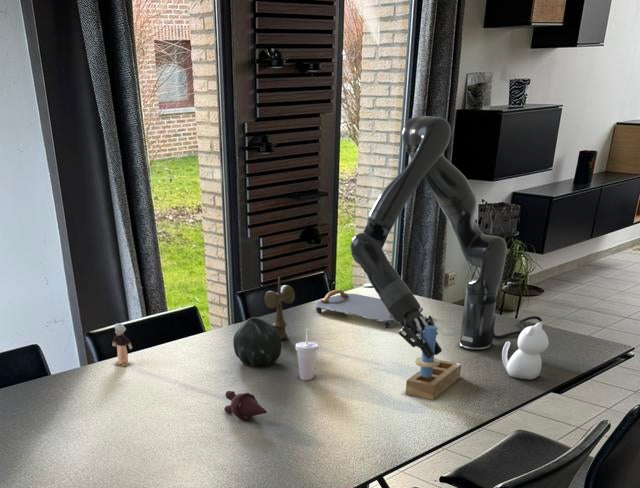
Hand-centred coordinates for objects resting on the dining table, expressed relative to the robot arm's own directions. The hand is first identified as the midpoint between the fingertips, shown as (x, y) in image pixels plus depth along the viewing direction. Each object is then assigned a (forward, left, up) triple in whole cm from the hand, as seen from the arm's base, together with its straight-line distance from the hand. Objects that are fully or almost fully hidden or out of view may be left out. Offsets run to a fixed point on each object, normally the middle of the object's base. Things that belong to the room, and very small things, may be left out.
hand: (435, 354), depth 191 cm
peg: (0, -2, -6) cm, 6 cm away
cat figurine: (-29, +7, -11) cm, 32 cm away
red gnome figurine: (+48, -20, -11) cm, 53 cm away
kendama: (-1, -66, -11) cm, 67 cm away
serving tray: (-43, -67, -11) cm, 80 cm away
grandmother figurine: (+51, -78, -11) cm, 93 cm away
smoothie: (+17, -32, -11) cm, 38 cm away
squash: (+19, -52, -11) cm, 56 cm away
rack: (-5, -4, -11) cm, 13 cm away
